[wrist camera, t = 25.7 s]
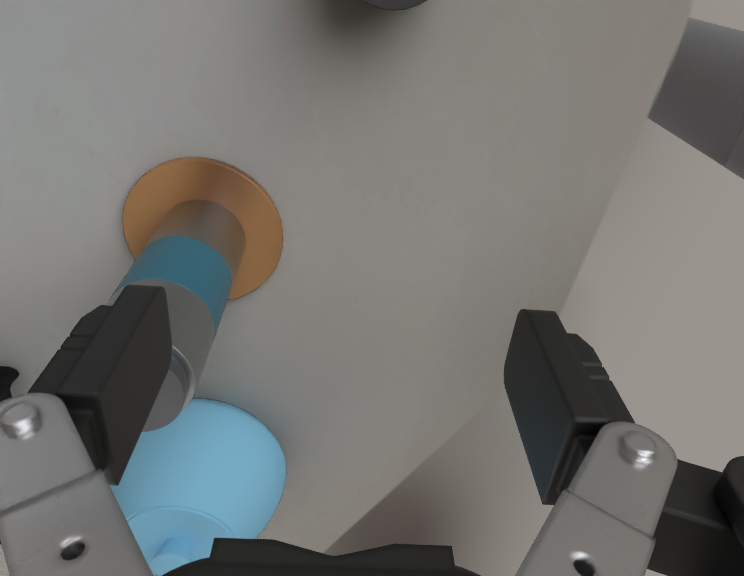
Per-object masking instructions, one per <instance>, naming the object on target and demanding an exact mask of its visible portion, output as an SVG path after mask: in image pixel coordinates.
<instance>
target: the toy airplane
mask: <svg viewBox="0 0 744 576" xmlns="http://www.w3.org/2000/svg"><path fill="white" fill-rule="evenodd" d="M18 376H19V372H18V371H17V370H16V369H14V368H11V367H5V366H0V402H1V401H3V400H6V399H8V398H11V397H12V395H11V392H10V387H11V384H12V382H13V381H14V380H16V378H17V377H18Z"/></svg>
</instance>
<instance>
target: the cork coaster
mask: <svg viewBox="0 0 744 576" xmlns="http://www.w3.org/2000/svg"><path fill="white" fill-rule="evenodd" d="M189 200H206V201H211V202H214V203H217V204H219V205H221V206H223V207H225V208H226V209H227V210H229V211H230V212H231V213H232V214H233V215H234V216H235V217H236V218H237V219H238V221H239V222H240V224H241V226H242V228H243V230H244V234H245V240H246V244H245V250H244V253H243V256H242V259H241V262H240V265H239V268H238V271H237V273H236V276H235V279H234V282H233V285H232V288H231V291H230V294H229V297H228V300H230V299H235V298H238V297H241V296H244V295H246V294H248V293H250V292H252V291H254V290H255V289H257V288H258V287H260V286H261V285H262V284H263V283H264V282H265V281H266V280H267V279H268V278H269V277H270V276H271V274H272V273H273V271H274V270H275V268H276V266H277V264H278V261H279V259H280V255H281V251H282V246H283V228H282V223H281V219H280V216H279V213H278V210H277V208H276V206H275V204H274V202H273V201H272V199H271V198H270V196H269V195H268V194H267V192H266V191H265V190H264V189H263V188H262V187H261V185H259V184H258V183H257V182H256V181H255V180H254V179H253V178H251V177H250V176H249V175H247V174H246V173H244V172H243V171H241V170H239V169H237V168H236V167H234V166H231V165H229V164H226V163H224V162H221V161H217V160H214V159H208V158H201V157H186V158H178V159H174V160H170V161H167V162H164V163H162V164H159V165H158V166H156V167H154V168H152V169H151V170H149V171H148V172H147V173H146V174H144V175H143V176H142V177H141V178H140V179H139V181H138V182H137V183H136V184H135V185H134V187H133V188H132V190H131V191H130V193H129V195H128V197H127V200H126V202H125V206H124V210H123V230H124V235H125V239H126V242H127V245H128V248H129V250H130V251H131V253H132V255H133V257H134V259H135V260H136V259H137V258H138V256H139V255H140V253H141V252H142V250H143V249H144V248H145V246H146V245H147V243H148V242H149V240H150V239H151V237H152V236H153V234H154V233H155V231H156V230H157V228H158V227H159V225H160V224H161V222H162V221H163V219H164V218H165V216H166V215H167V214H168V212H169V211H170V210H171V209H172V208H174V207H175V206H176V205H178V204H180V203H182V202H185V201H189Z"/></svg>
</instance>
